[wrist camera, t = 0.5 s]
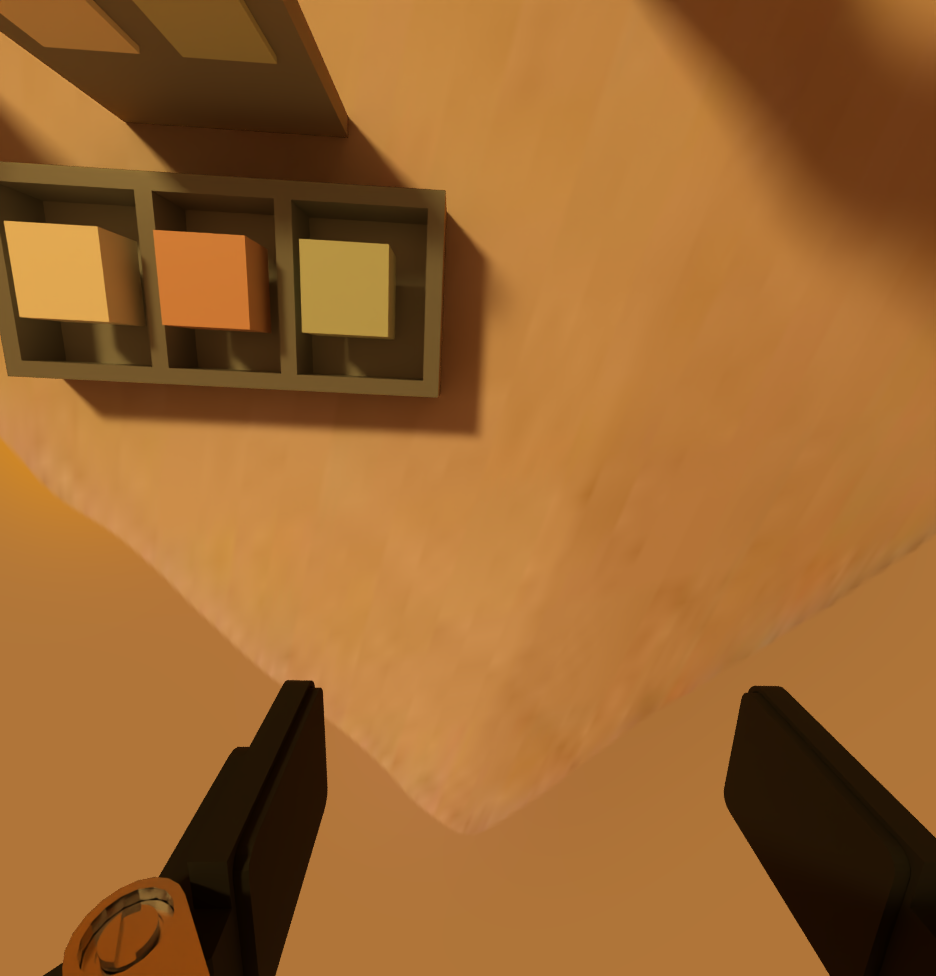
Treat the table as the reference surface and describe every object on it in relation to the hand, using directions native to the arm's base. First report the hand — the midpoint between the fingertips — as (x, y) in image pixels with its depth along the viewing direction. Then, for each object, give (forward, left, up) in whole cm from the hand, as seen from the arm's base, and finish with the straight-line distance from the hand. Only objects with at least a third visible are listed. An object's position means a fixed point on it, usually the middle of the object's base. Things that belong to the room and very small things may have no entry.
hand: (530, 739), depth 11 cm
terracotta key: (-12, -17, -24) cm, 32 cm away
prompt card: (-22, -17, -27) cm, 39 cm away
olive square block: (-12, -9, -24) cm, 28 cm away
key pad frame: (-12, -17, -27) cm, 34 cm away
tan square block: (-12, -25, -24) cm, 37 cm away
